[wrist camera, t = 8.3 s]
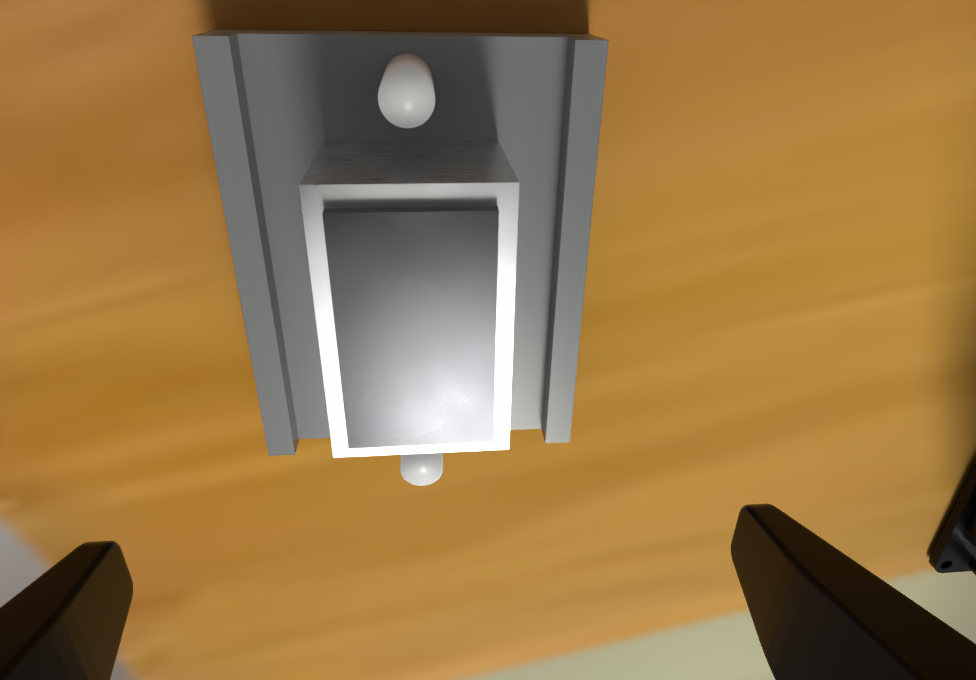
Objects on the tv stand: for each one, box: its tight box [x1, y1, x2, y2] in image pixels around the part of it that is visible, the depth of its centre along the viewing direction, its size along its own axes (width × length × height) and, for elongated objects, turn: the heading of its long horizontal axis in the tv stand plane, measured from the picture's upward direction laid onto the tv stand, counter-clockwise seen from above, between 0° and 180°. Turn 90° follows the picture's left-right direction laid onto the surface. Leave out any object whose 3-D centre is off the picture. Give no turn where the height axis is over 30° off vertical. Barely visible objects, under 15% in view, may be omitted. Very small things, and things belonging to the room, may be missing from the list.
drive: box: [299, 139, 519, 458], centre depth 17 cm, size 7×4×4 cm, turn 179°
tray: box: [192, 30, 608, 486], centre depth 18 cm, size 12×10×4 cm
